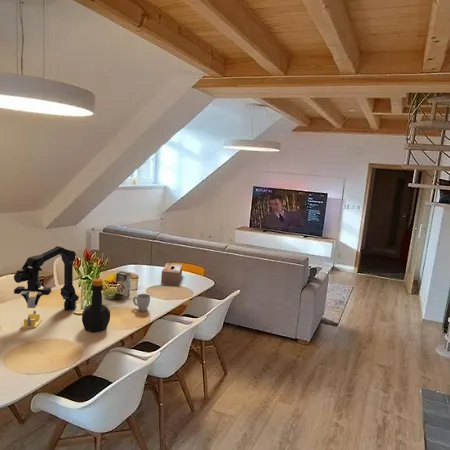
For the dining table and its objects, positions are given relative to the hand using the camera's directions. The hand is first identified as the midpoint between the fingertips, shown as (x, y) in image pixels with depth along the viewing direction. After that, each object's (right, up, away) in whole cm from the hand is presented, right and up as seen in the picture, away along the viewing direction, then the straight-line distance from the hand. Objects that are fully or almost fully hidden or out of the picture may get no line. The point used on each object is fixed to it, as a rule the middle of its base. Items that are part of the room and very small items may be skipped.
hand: (32, 304), depth 222 cm
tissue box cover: (+66, 0, +108) cm, 126 cm away
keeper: (-1, -11, +1) cm, 12 cm away
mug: (+55, -11, +37) cm, 67 cm away
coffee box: (+36, -5, +62) cm, 71 cm away
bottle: (+36, -15, +3) cm, 39 cm away
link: (0, -1, 0) cm, 1 cm away
